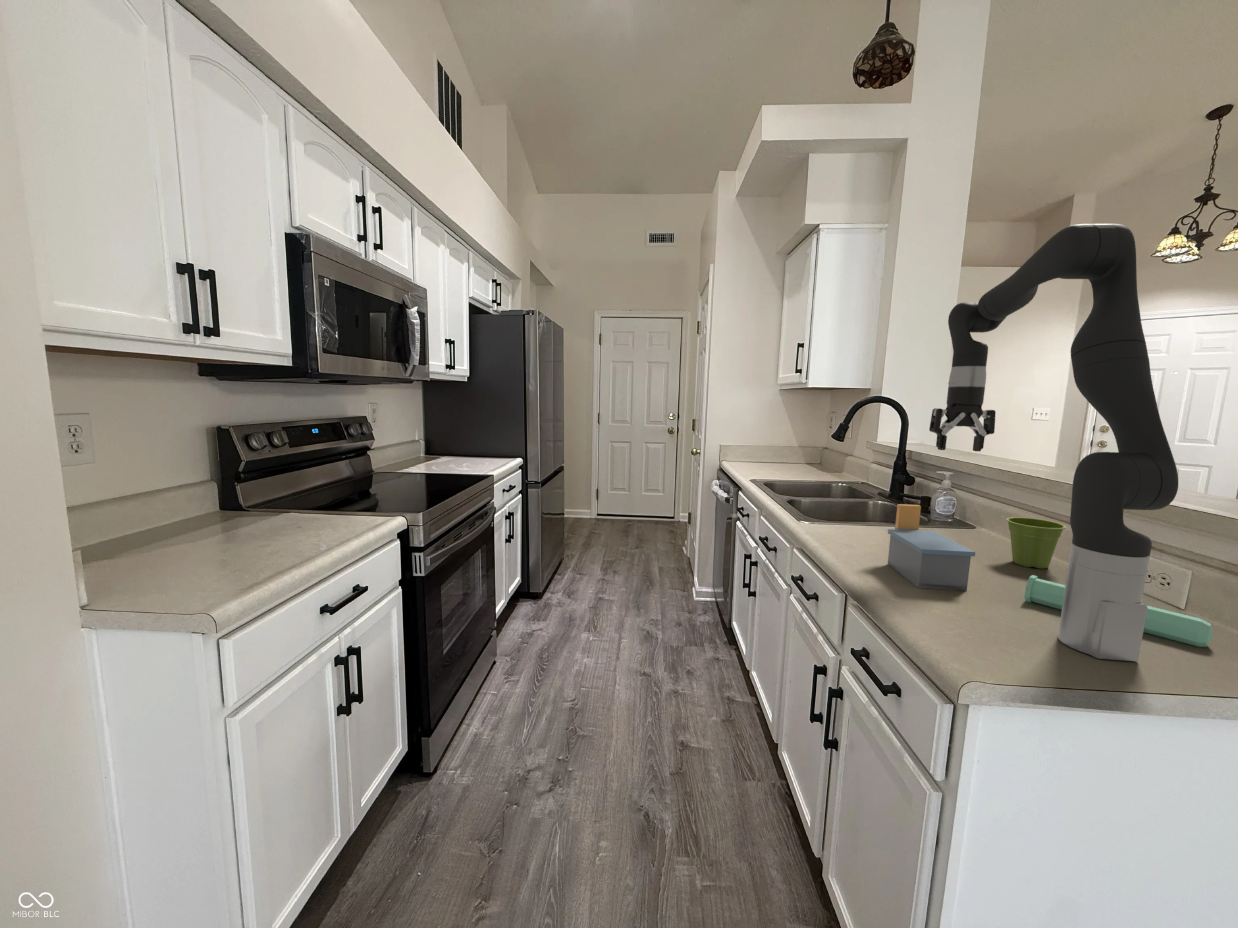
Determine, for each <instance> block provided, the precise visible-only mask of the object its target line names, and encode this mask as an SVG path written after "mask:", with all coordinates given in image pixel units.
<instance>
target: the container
mask: <svg viewBox="0 0 1238 928" xmlns="http://www.w3.org/2000/svg"><path fill="white" fill-rule="evenodd" d="M1065 585H1066V584H1063V583H1057V582H1053V581H1049V580H1045V579H1042V578H1038V575H1034V574H1031V575H1030V576H1029V578H1028V580H1027V583H1026V585H1025V591H1024V601H1025V602H1027V603H1032V602H1033V603H1036V604H1039V605H1043V606H1046V607H1051V608H1054V609H1057V610H1060V611H1062V605H1063V598H1064V591H1065ZM1143 633H1144V634H1145V633H1146V634H1149V635H1153V636H1157V637H1161V638H1164V639H1168V640H1171V641H1176V642H1178V643H1179V642H1180V643H1184V644H1187V645H1190V646H1194V647H1200V648H1206V647H1207V646H1208V645H1209V643H1210V642H1211V641H1212V639H1213V638H1214V635H1213V634H1214V633H1213V628H1212V624H1211V623H1209V622H1208V621H1206V620H1204V619H1202V618H1199V617H1195V616H1191V615H1186V614H1182V613H1180V612H1179V613H1178V612H1176V611H1175V612H1174V611H1171V610H1168V609H1162V608H1159V607H1154V606H1151V605H1147V613H1146V619H1145V625H1144V630H1143Z"/></svg>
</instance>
